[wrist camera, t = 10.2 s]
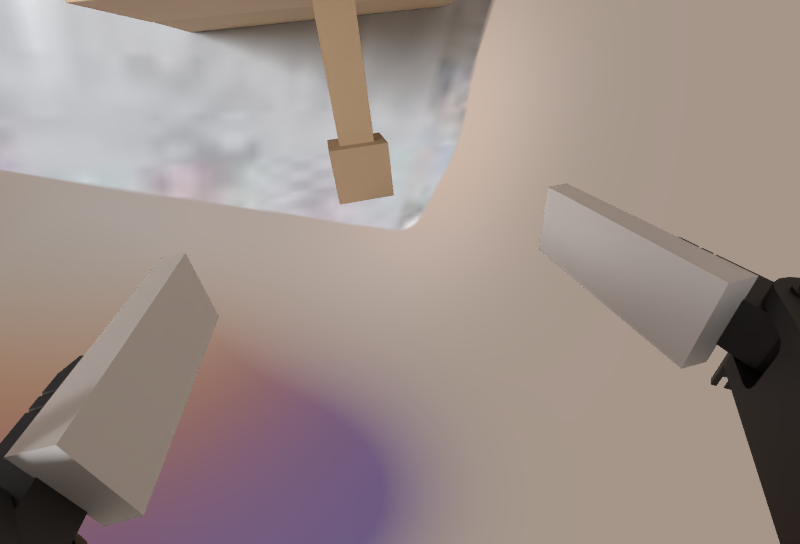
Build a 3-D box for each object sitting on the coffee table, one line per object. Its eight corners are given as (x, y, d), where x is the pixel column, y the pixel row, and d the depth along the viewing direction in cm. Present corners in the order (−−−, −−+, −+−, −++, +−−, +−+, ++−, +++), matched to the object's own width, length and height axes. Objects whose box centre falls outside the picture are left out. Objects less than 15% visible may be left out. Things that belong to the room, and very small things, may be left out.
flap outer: (147, 12, 18) (219, 186, 23) (58, -12, 12) (184, 232, 17) (482, -20, 20) (477, 145, 25) (556, -54, 14) (528, 173, 19)
